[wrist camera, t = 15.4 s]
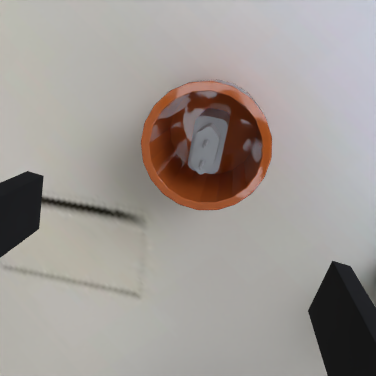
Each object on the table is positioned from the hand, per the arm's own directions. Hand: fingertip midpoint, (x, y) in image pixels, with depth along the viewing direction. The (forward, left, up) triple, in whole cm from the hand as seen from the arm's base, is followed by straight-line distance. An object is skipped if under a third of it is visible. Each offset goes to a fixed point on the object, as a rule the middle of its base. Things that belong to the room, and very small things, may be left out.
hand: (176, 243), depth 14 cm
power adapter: (+1, 0, -25) cm, 25 cm away
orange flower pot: (+1, +1, -25) cm, 25 cm away
